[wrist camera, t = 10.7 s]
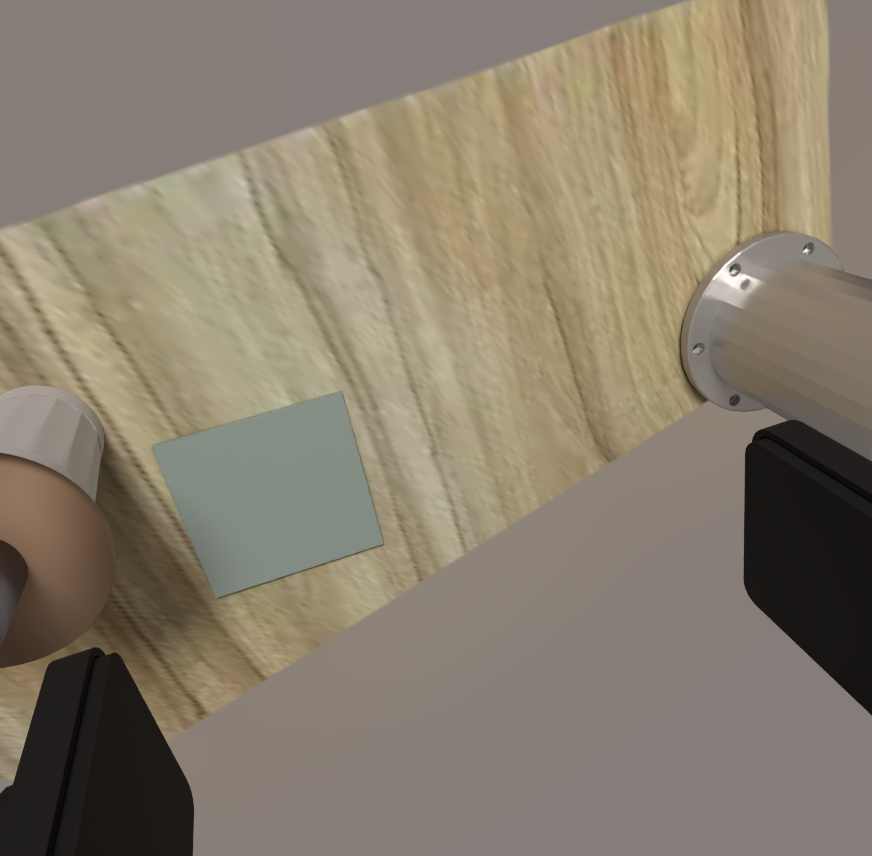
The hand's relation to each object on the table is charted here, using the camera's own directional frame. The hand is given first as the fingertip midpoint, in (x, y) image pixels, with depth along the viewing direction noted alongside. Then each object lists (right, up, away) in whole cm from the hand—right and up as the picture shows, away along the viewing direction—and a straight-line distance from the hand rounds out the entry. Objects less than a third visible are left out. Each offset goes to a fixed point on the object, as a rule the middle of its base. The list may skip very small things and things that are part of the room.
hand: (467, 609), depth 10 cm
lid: (-19, -3, +20) cm, 28 cm away
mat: (-11, -2, +36) cm, 37 cm away
